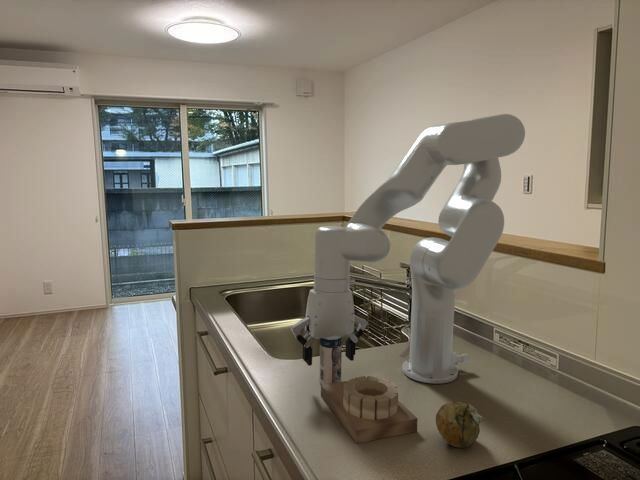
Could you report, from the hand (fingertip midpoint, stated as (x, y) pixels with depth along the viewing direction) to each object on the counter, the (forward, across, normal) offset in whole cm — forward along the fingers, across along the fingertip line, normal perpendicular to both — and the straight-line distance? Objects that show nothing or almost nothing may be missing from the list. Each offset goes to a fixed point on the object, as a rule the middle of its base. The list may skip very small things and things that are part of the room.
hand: (329, 360), depth 103 cm
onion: (+5, -13, +28) cm, 31 cm away
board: (+5, -2, +14) cm, 15 cm away
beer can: (+6, 0, 0) cm, 6 cm away
